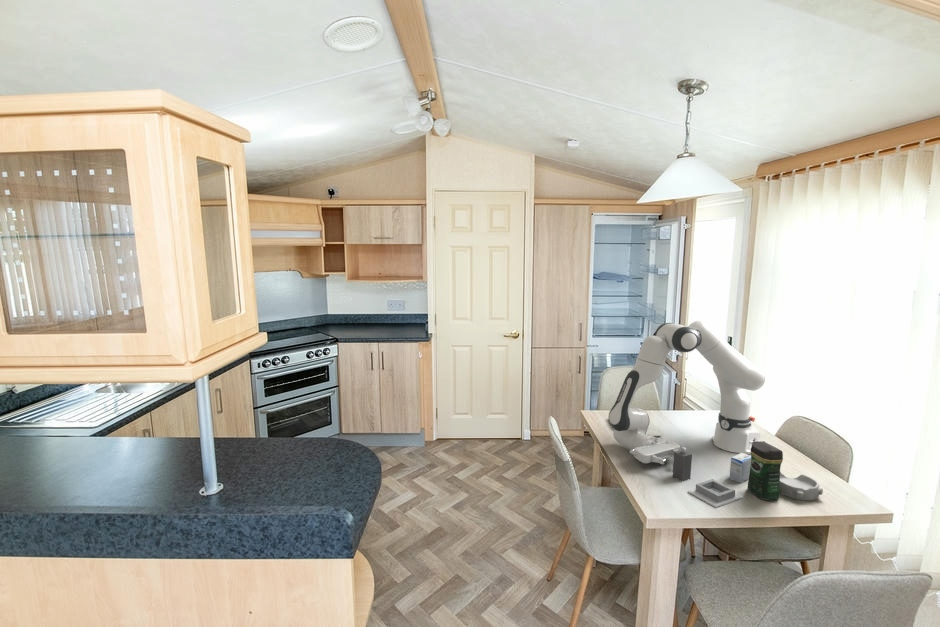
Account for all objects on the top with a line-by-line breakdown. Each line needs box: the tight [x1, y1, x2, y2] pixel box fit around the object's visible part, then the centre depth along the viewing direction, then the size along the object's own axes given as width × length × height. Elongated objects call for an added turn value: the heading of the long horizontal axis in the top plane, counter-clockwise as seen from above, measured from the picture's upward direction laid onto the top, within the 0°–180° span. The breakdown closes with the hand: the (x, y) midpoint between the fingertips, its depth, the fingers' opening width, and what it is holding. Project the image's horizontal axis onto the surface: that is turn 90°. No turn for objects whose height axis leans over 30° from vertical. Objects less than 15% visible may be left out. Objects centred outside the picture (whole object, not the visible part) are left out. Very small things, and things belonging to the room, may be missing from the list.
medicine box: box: [728, 453, 751, 484], centre depth 172 cm, size 8×4×9 cm, turn 123°
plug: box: [672, 446, 693, 482], centre depth 172 cm, size 4×4×12 cm
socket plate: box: [687, 478, 743, 509], centre depth 161 cm, size 14×11×3 cm
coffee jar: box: [747, 440, 784, 501], centre depth 160 cm, size 10×8×19 cm
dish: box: [780, 471, 824, 501], centre depth 163 cm, size 14×14×5 cm
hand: (673, 459), depth 176 cm, fingers open, 8 cm apart
